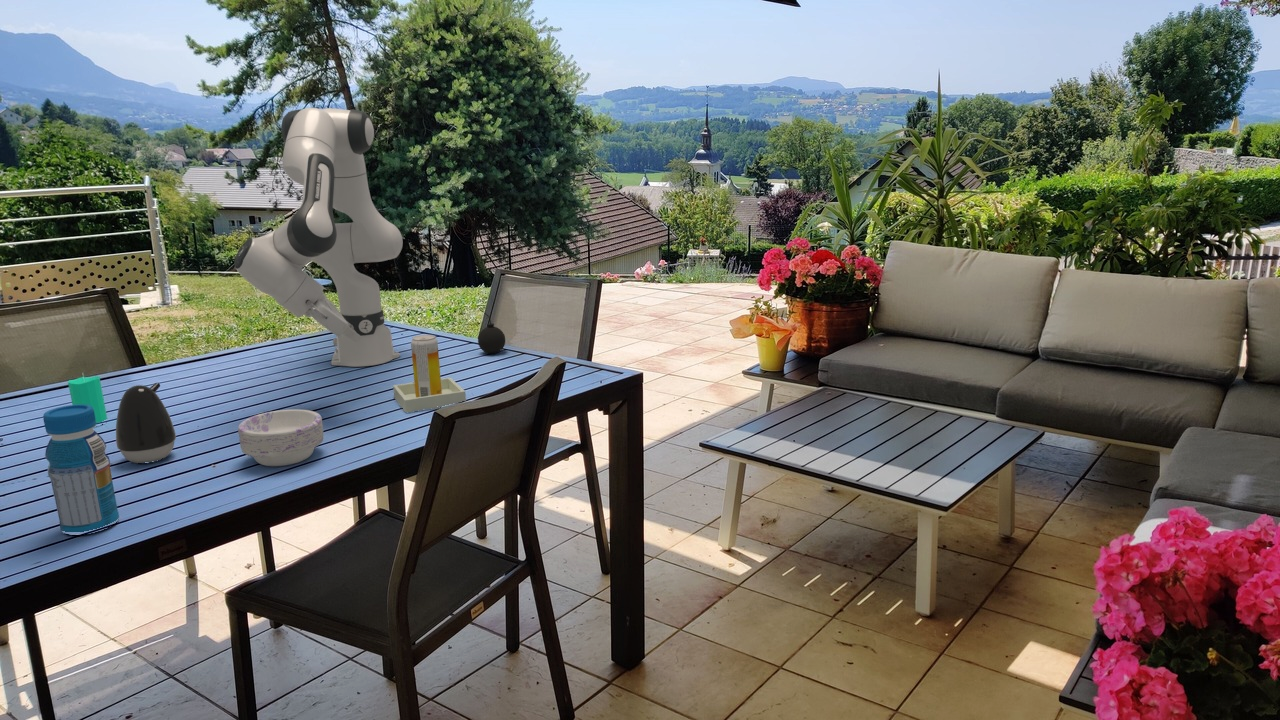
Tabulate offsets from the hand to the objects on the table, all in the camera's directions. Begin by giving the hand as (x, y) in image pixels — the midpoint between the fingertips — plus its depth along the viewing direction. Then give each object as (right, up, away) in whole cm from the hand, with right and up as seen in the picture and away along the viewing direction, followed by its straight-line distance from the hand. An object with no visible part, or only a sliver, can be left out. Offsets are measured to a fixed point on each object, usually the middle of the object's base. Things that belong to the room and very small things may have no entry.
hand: (355, 334), depth 195 cm
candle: (-58, -20, -4) cm, 61 cm away
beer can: (+15, -15, +8) cm, 23 cm away
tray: (+15, -16, +8) cm, 23 cm away
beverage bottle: (-25, -33, -56) cm, 69 cm away
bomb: (+22, -4, +53) cm, 58 cm away
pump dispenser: (-32, -26, -26) cm, 49 cm away
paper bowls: (-5, -25, -27) cm, 37 cm away
